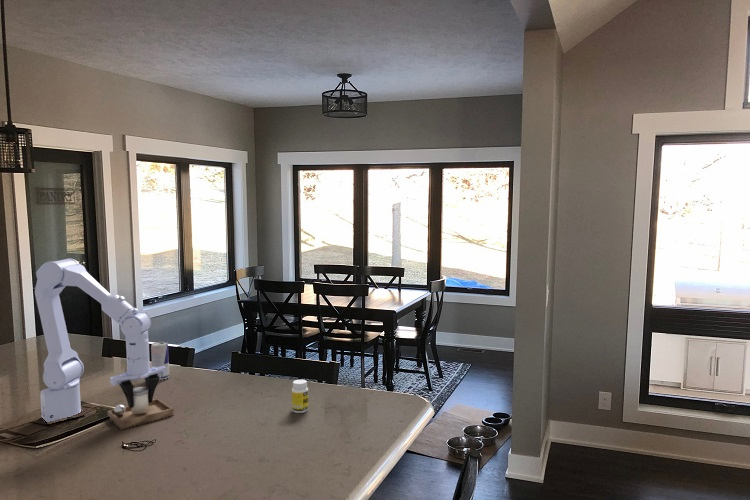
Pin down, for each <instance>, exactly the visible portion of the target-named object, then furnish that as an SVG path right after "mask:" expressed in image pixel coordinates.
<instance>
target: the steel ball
mask: <svg viewBox="0 0 750 500" xmlns="http://www.w3.org/2000/svg"><path fill="white" fill-rule="evenodd" d="M113 410H114V413H115V414H116V415H118V416H121V415H123V414H124V413H125V412H126V406H125V405H124V404H117V405H116V406H115V407H114V409H113Z"/></svg>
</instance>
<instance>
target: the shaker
mask: <svg viewBox="0 0 750 500" xmlns="http://www.w3.org/2000/svg"><path fill="white" fill-rule="evenodd" d="M148 392H149V389H148V388H147V387H146V386H138V387H134V388H133V403H134V406H133V408H132V413H134V414H141V413H145V412H147V411H148V410H149V401H148Z"/></svg>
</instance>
